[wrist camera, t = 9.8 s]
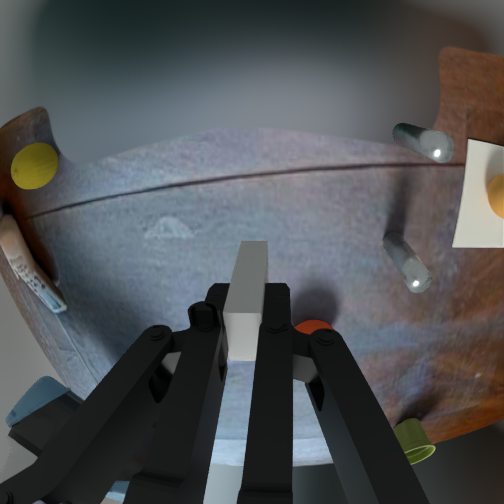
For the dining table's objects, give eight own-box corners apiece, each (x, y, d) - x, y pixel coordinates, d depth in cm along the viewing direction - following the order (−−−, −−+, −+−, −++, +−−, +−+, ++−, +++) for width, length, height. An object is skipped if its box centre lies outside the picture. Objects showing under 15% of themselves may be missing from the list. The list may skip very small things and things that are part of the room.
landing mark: (451, 246, 34) (452, 247, 33) (467, 138, 27) (468, 139, 27) (518, 247, 32) (519, 247, 32) (536, 155, 26) (537, 156, 26)
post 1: (391, 145, 29) (428, 161, 21) (392, 121, 28) (430, 130, 20) (412, 147, 29) (453, 164, 21) (413, 124, 28) (455, 134, 20)
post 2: (381, 251, 35) (405, 293, 27) (384, 231, 34) (411, 270, 26) (400, 251, 35) (428, 292, 27) (403, 231, 33) (434, 269, 25)
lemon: (74, 171, 33) (35, 190, 26) (47, 183, 34) (8, 203, 27) (63, 131, 31) (21, 143, 24) (36, 146, 32) (-5, 160, 25)
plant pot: (391, 417, 51) (399, 452, 43) (431, 409, 50) (441, 441, 42) (382, 438, 55) (388, 469, 48) (419, 430, 54) (427, 460, 46)
